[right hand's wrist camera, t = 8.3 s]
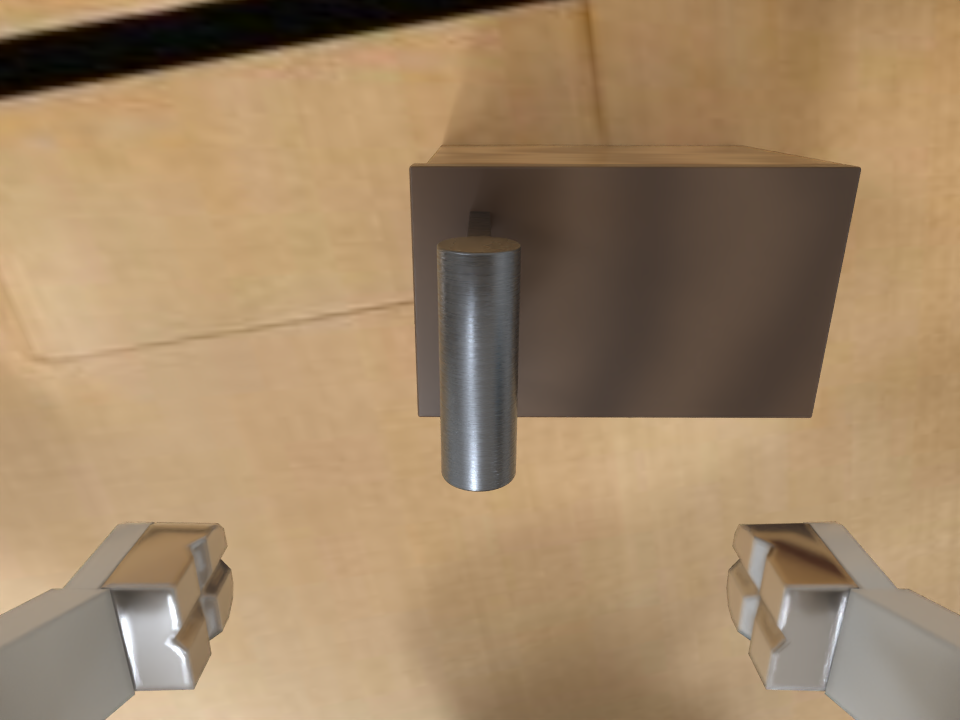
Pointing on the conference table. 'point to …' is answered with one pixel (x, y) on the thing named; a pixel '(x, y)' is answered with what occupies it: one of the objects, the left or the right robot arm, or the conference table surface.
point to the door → (618, 295)
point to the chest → (612, 155)
